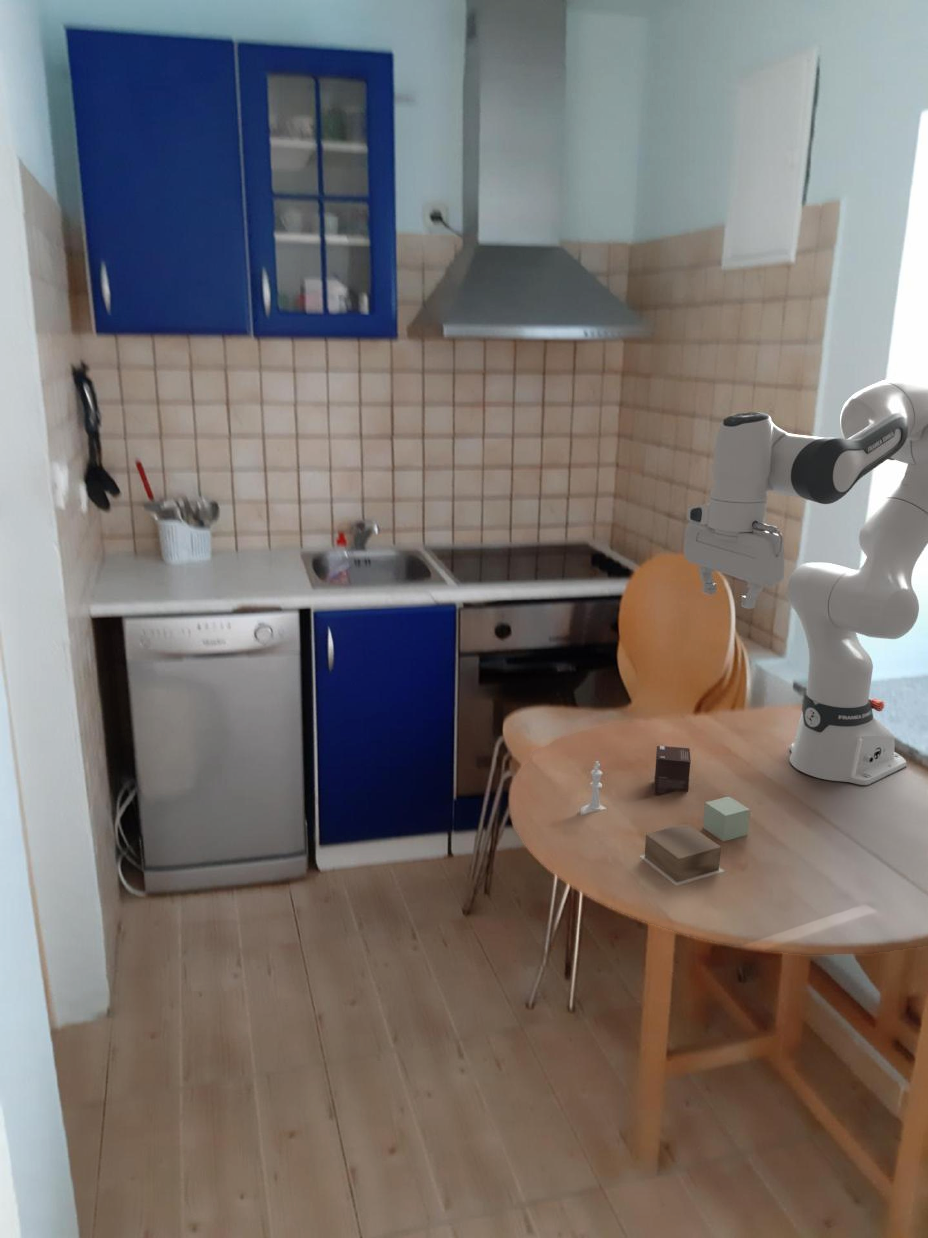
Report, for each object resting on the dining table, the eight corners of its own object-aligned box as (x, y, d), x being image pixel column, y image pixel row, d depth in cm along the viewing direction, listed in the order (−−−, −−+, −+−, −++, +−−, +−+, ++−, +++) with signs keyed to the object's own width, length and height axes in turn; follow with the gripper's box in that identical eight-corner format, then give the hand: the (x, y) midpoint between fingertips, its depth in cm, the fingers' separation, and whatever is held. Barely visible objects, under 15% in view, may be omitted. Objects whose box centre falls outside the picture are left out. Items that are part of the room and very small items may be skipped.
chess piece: (613, 812, 165) (616, 760, 162) (601, 824, 161) (604, 770, 158) (587, 805, 168) (590, 753, 165) (575, 816, 164) (577, 763, 161)
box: (687, 799, 170) (691, 761, 168) (653, 795, 171) (656, 758, 169) (687, 784, 176) (690, 747, 174) (654, 781, 177) (656, 744, 175)
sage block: (725, 828, 160) (728, 796, 158) (746, 842, 156) (749, 809, 154) (702, 835, 158) (705, 802, 156) (722, 849, 154) (725, 815, 152)
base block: (685, 845, 152) (687, 823, 151) (718, 870, 145) (721, 847, 144) (644, 857, 148) (646, 834, 147) (676, 882, 142) (678, 858, 140)
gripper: (799, 526, 144) (788, 614, 147) (710, 505, 161) (703, 584, 165) (767, 529, 141) (757, 618, 145) (680, 507, 159) (674, 587, 162)
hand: (728, 600), depth 155 cm, fingers open, 8 cm apart
